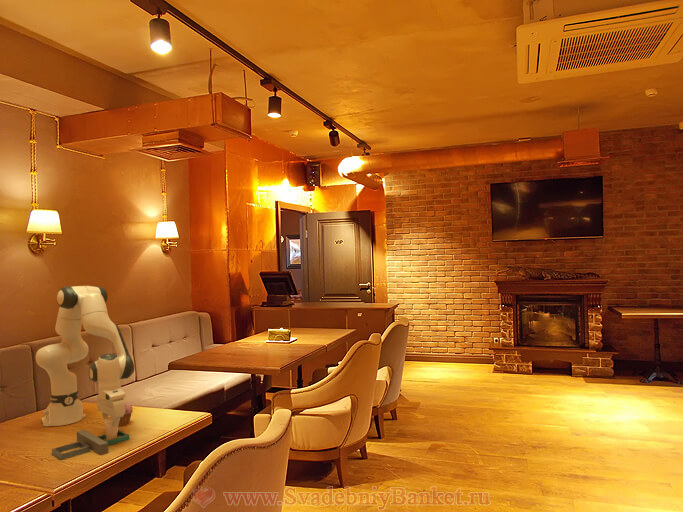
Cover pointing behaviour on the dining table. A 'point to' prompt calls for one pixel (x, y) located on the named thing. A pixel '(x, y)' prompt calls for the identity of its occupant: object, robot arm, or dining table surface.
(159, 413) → the dining table surface
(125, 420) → the cupcake
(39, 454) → the dining table surface
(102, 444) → the door edge
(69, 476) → the dining table surface
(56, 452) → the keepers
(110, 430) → the smoothie
